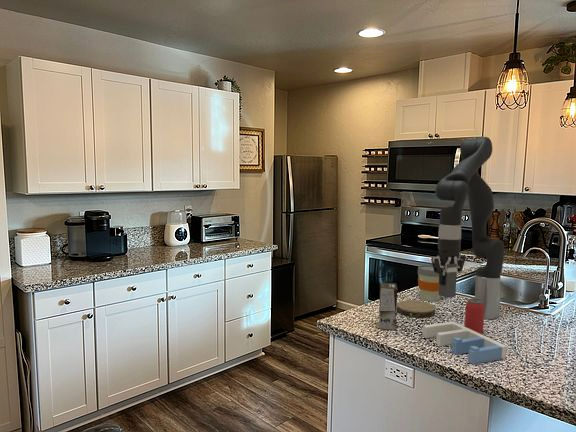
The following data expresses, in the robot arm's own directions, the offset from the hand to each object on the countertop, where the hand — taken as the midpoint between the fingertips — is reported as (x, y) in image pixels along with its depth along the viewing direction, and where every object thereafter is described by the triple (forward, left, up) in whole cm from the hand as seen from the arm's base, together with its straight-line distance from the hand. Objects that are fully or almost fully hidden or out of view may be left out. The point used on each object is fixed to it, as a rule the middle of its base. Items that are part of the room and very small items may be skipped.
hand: (447, 284), depth 153 cm
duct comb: (0, +7, -20) cm, 22 cm away
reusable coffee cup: (-28, -43, -21) cm, 55 cm away
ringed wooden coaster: (-9, -29, -21) cm, 36 cm away
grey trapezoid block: (0, 0, -4) cm, 4 cm away
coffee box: (+12, -19, -21) cm, 30 cm away
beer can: (-16, -3, -21) cm, 26 cm away
